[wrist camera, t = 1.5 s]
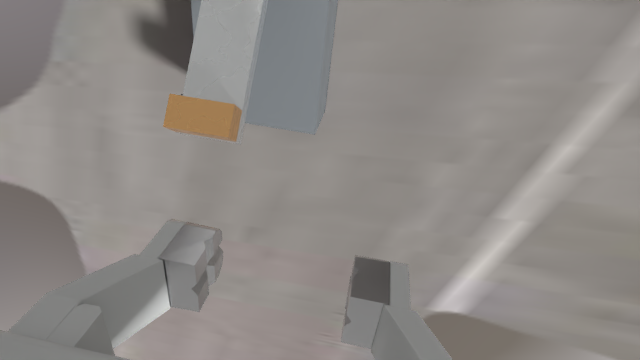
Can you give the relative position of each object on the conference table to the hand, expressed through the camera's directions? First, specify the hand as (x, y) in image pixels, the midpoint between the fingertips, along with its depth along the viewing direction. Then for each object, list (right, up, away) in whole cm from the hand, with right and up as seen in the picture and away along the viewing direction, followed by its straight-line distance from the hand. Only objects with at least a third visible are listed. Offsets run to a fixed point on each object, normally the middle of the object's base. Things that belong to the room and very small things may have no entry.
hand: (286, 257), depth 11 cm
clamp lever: (-5, +13, +14) cm, 20 cm away
